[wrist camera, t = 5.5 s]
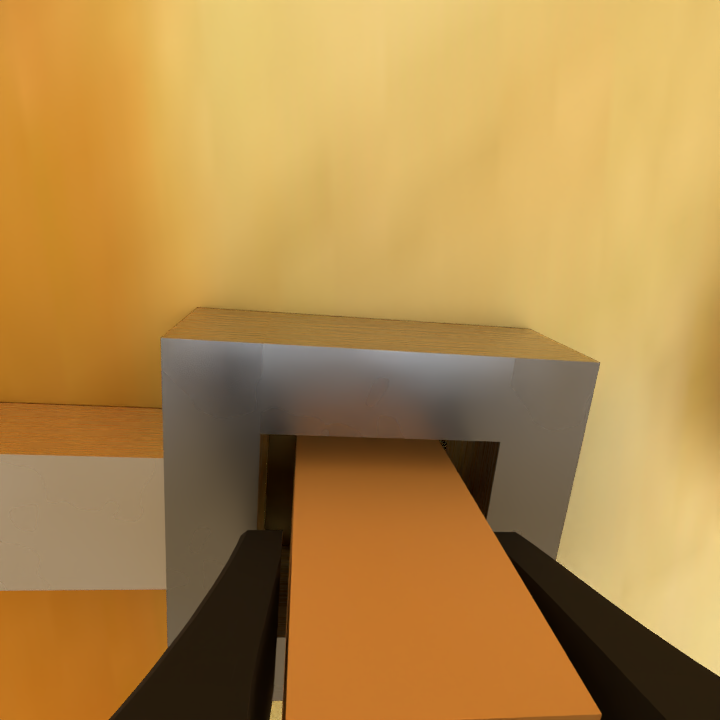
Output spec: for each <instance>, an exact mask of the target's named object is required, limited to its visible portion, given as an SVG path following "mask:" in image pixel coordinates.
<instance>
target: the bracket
mask: <svg viewBox="0 0 720 720" xmlns="http://www.w3.org/2000/svg"><path fill="white" fill-rule="evenodd" d="M599 366H600V362H598V361H596V360H594V359H592V358H590V357H588V356H585V355H583V354H581V353H579V352H577V351H575V350H573V349H571V348H569V347H567V346H565V345H563V344H560V343H558V342H556V341H554V340H552V339H550V338H548V337H546V336H544V335H542V334H540V333H537V332H535V331H533V330H531V329H523V328H507V327H492V326H476V325H461V324H446V323H430V322H415V321H399V320H384V319H368V318H353V317H338V316H322V315H307V314H291V313H276V312H260V311H245V310H230V309H214V308H199V307H197V308H196V309H195V310H194V311H193V312H191V313H190V314H189V315H188V316H187V317H185V318H184V319H183V320H182V321H181V322H179V323H178V324H177V325H176V326H174V327H173V328H172V329H171V330H170V331H168V332H167V333H166V334H165V335H164V336H162V337H161V368H162V409H156V408H130V407H104V406H78V405H51V404H25V403H0V591H10V590H136V589H166V592H167V637H168V647H169V646H170V645H171V643H172V642H173V641H174V639H175V638H176V637H177V636H178V634H179V633H180V632H181V630H182V629H183V628H184V626H185V625H186V624H187V622H188V621H189V619H190V618H191V617H192V615H193V614H194V612H195V611H196V609H197V608H198V606H199V605H200V603H201V602H202V600H203V599H204V597H205V596H206V595H207V593H208V592H209V590H210V589H211V587H212V586H213V584H214V583H215V581H216V579H217V578H218V576H219V575H220V573H221V571H222V570H223V568H224V566H225V565H226V563H227V561H228V560H229V558H230V556H231V554H232V552H233V550H234V548H235V547H236V545H237V543H238V540H239V538H240V536H241V535H242V534H243V533H244V532H246V531H247V530H265V509H266V484H267V459H268V434H278V435H308V436H339V437H369V438H400V439H431V440H447V447H446V453H447V455H448V457H449V458H450V460H451V462H452V463H453V465H454V467H455V468H456V470H457V472H458V474H459V475H460V477H461V479H462V480H463V482H464V484H465V485H466V487H467V489H468V490H469V492H470V494H471V495H472V497H473V499H474V500H475V502H476V504H477V505H478V507H479V509H480V510H481V512H482V514H483V515H484V517H485V519H486V521H487V522H488V524H489V526H490V527H491V529H492V531H493V532H516V533H518V534H519V535H521V536H522V537H524V538H525V539H527V540H528V541H530V542H531V543H532V544H534V545H535V546H537V547H538V548H539V549H541V550H542V551H543V552H545V553H546V554H547V555H549V556H550V557H551V558H553V559H554V560H555V561H556V556H557V552H558V548H559V543H560V539H561V534H562V530H563V525H564V521H565V516H566V512H567V508H568V503H569V499H570V494H571V490H572V485H573V481H574V477H575V472H576V468H577V463H578V459H579V454H580V450H581V446H582V441H583V437H584V432H585V428H586V423H587V419H588V415H589V410H590V406H591V401H592V397H593V392H594V388H595V383H596V379H597V375H598V370H599ZM289 557H290V546H282V553H281V572H280V592H279V611H278V630H277V647H276V664H275V680H274V692H273V699H272V701H283V685H284V664H285V642H286V621H287V600H288V578H289Z"/></svg>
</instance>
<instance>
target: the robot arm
mask: <svg viewBox="0 0 720 720" xmlns="http://www.w3.org/2000/svg"><path fill="white" fill-rule="evenodd" d="M282 533H283V530H247V531H246V532H244V533H243V534H242V535H241V536H240V538H239V540H238V543H237V545H236V547H235V548H234V550H233V552H232V554H231V556H230V558H229V560H228V561H227V563H226V565H225V566H224V568H223V570H222V571H221V573H220V575H219V576H218V578H217V579H216V581H215V583H214V584H213V586H212V587H211V589H210V590H209V592H208V593H207V595H206V596H205V597H204V599H203V600H202V602H201V603H200V605H199V606H198V608H197V609H196V611H195V612H194V614H193V615H192V617H191V618H190V619H189V621H188V622H187V624H186V625H185V626H184V628H183V629H182V630H181V632H180V633H179V634H178V636H177V637H176V638H175V639H174V641H173V642H172V643H171V645H170V646H169V647H168V649H167V650H166V651H165V652H164V654H163V655H162V656H161V658H160V659H159V660H158V662H157V663H156V664H155V665H154V667H153V668H152V669H151V671H150V672H149V673H148V674H147V676H146V677H145V678H144V679H143V680H142V682H141V683H140V684H139V685H138V686H137V688H136V689H135V690H134V691H133V692H132V694H131V695H130V696H129V697H128V698H127V699H126V701H125V702H124V703H123V704H122V705H121V706H120V708H119V709H118V710H117V711H116V712H115V713H114V714H113V716H112V717H111V718H110V719H109V720H269V719H270V712H271V706H272V699H273V692H274V680H275V664H276V647H277V630H278V611H279V592H280V572H281V553H282ZM494 534H495V536H496V537H497V539H498V541H499V542H500V544H501V546H502V547H503V549H504V551H505V552H506V554H507V556H508V557H509V559H510V561H511V562H512V564H513V566H514V568H515V569H516V571H517V573H518V574H519V576H520V578H521V579H522V581H523V583H524V584H525V586H526V588H527V589H528V591H529V593H530V594H531V596H532V598H533V599H534V601H535V603H536V604H537V606H538V608H539V609H540V611H541V613H542V615H543V616H544V618H545V620H546V621H547V623H548V625H549V626H550V628H551V630H552V631H553V633H554V635H555V636H556V638H557V640H558V641H559V643H560V645H561V646H562V648H563V650H564V651H565V653H566V655H567V656H568V658H569V660H570V662H571V663H572V665H573V667H574V668H575V670H576V672H577V673H578V675H579V677H580V678H581V680H582V682H583V683H584V685H585V687H586V688H587V690H588V692H589V693H590V695H591V697H592V698H593V700H594V702H595V704H596V705H597V707H598V709H599V710H600V712H601V714H602V716H601V719H600V720H720V677H719V676H718V675H716V674H715V673H713V672H711V671H710V670H708V669H707V668H705V667H704V666H702V665H701V664H699V663H697V662H696V661H694V660H693V659H691V658H690V657H689V656H687V655H686V654H684V653H683V652H681V651H680V650H678V649H677V648H675V647H674V646H672V645H671V644H669V643H668V642H666V641H665V640H663V639H662V638H661V637H659V636H658V635H656V634H655V633H653V632H652V631H650V630H649V629H647V628H646V627H645V626H643V625H642V624H640V623H639V622H638V621H636V620H635V619H633V618H632V617H631V616H629V615H628V614H626V613H625V612H624V611H622V610H621V609H620V608H618V607H617V606H615V605H614V604H613V603H611V602H610V601H609V600H607V599H606V598H605V597H603V596H602V595H600V594H599V593H598V592H596V591H595V590H594V589H592V588H591V587H590V586H588V585H587V584H586V583H584V582H583V581H582V580H580V579H579V578H578V577H577V576H575V575H574V574H573V573H571V572H570V571H569V570H567V569H566V568H565V567H563V566H562V565H561V564H559V563H558V562H557V561H555V560H554V559H553V558H551V557H550V556H549V555H547V554H546V553H545V552H543V551H542V550H541V549H539V548H538V547H537V546H535V545H534V544H532V543H531V542H530V541H528V540H527V539H525V538H524V537H522V536H521V535H519V534H518V533H516V532H494Z"/></svg>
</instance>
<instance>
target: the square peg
mask: <svg viewBox="0 0 720 720" xmlns="http://www.w3.org/2000/svg"><path fill="white" fill-rule="evenodd" d="M601 716H602V714H601V712H600V710H599V709H598V707H597V705H596V704H595V702H594V700H593V698H592V697H591V695H590V693H589V692H588V690H587V688H586V687H585V685H584V683H583V682H582V680H581V678H580V677H579V675H578V673H577V672H576V670H575V668H574V667H573V665H572V663H571V662H570V660H569V658H568V656H567V655H566V653H565V651H564V650H563V648H562V646H561V645H560V643H559V641H558V640H557V638H556V636H555V635H554V633H553V631H552V630H551V628H550V626H549V625H548V623H547V621H546V620H545V618H544V616H543V615H542V613H541V611H540V609H539V608H538V606H537V604H536V603H535V601H534V599H533V598H532V596H531V594H530V593H529V591H528V589H527V588H526V586H525V584H524V583H523V581H522V579H521V578H520V576H519V574H518V573H517V571H516V569H515V568H514V566H513V564H512V562H511V561H510V559H509V557H508V556H507V554H506V552H505V551H504V549H503V547H502V546H501V544H500V542H499V541H498V539H497V537H496V536H495V534H494V532H493V531H492V529H491V527H490V526H489V524H488V522H487V521H486V519H485V517H484V515H483V514H482V512H481V510H480V509H479V507H478V505H477V504H476V502H475V500H474V499H473V497H472V495H471V494H470V492H469V490H468V489H467V487H466V485H465V484H464V482H463V480H462V479H461V477H460V475H459V474H458V472H457V470H456V468H455V467H454V465H453V463H452V462H451V460H450V458H449V457H448V455H447V453H446V452H445V450H444V448H443V447H442V445H441V443H440V442H439V440H431V439H400V438H369V437H339V436H308V435H296V449H295V466H294V483H293V499H292V516H291V536H290V557H289V578H288V600H287V621H286V642H285V664H284V685H283V706H282V720H600V719H601Z"/></svg>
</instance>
